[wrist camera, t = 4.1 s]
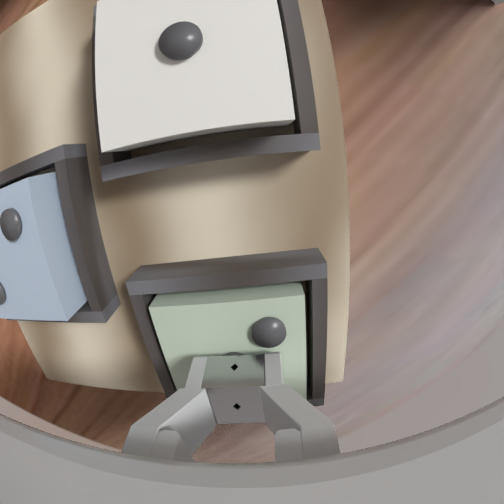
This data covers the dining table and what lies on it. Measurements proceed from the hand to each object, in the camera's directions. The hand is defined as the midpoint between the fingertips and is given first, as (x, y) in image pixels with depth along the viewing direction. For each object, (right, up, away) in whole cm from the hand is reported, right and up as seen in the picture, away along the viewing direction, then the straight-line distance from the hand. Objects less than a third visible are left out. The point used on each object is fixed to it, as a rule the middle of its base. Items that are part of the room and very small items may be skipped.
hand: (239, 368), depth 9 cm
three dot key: (0, +1, +2) cm, 2 cm away
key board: (-5, +7, +2) cm, 9 cm away
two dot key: (-9, +4, 0) cm, 10 cm away
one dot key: (-1, +10, -2) cm, 10 cm away
